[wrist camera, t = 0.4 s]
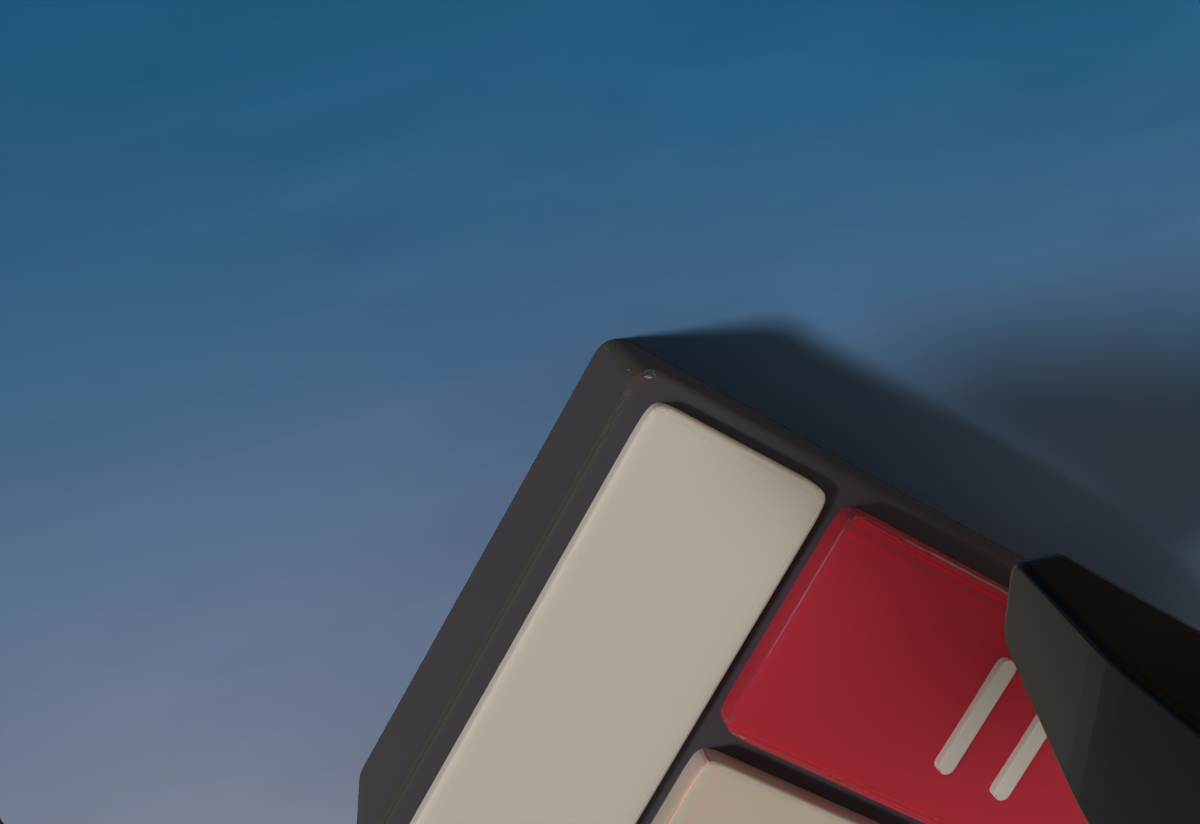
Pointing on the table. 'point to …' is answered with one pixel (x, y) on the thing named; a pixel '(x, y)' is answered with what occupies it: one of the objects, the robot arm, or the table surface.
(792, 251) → the table surface
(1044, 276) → the table surface
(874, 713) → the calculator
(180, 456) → the table surface
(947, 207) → the table surface
